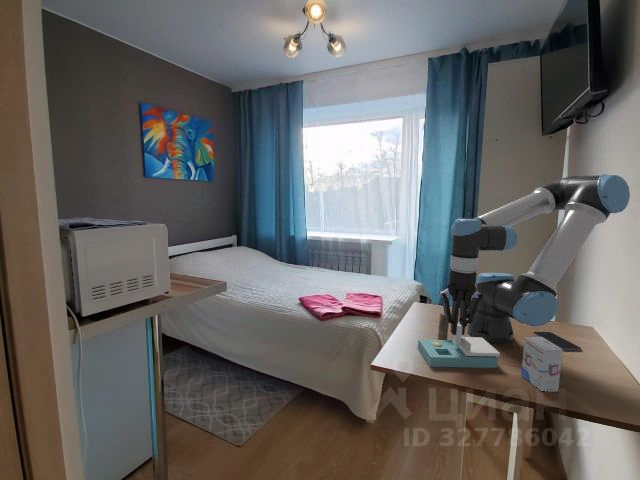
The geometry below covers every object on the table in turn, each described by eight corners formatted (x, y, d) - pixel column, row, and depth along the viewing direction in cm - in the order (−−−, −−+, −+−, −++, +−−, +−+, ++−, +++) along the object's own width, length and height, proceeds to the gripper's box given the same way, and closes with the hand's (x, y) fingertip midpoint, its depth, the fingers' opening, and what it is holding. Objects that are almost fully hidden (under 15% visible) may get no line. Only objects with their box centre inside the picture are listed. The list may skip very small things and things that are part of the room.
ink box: (519, 375, 97) (524, 335, 95) (535, 374, 98) (540, 335, 96) (541, 392, 89) (546, 349, 87) (559, 392, 89) (565, 349, 87)
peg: (444, 340, 119) (447, 312, 117) (448, 344, 116) (450, 316, 114) (436, 340, 119) (438, 312, 117) (439, 344, 116) (441, 315, 114)
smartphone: (550, 331, 128) (583, 348, 114) (549, 334, 129) (582, 351, 114) (531, 331, 128) (562, 348, 113) (531, 334, 128) (562, 351, 113)
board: (477, 349, 113) (478, 340, 112) (497, 368, 101) (498, 358, 100) (417, 348, 112) (418, 339, 112) (429, 366, 100) (430, 356, 100)
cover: (481, 340, 112) (482, 331, 111) (499, 356, 101) (500, 346, 100) (451, 339, 111) (452, 330, 111) (466, 355, 100) (467, 345, 100)
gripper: (478, 267, 106) (471, 339, 110) (437, 266, 106) (431, 338, 109) (490, 273, 99) (483, 350, 102) (446, 272, 99) (440, 349, 102)
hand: (456, 344), depth 106 cm, fingers closed
